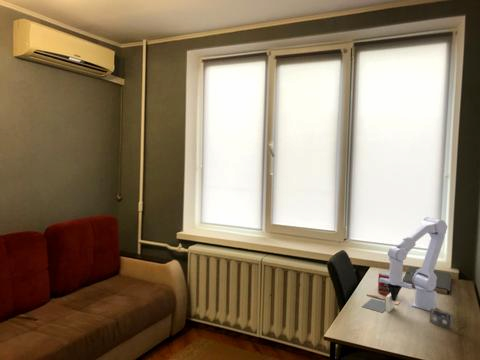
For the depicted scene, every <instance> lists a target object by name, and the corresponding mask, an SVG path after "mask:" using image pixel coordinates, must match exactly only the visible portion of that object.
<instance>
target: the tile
mask: <svg viewBox="0 0 480 360" xmlns="http://www.w3.org/2000/svg"><path fill="white" fill-rule="evenodd" d="M385 298H386V310H385V311H386V312H389V313H390V312H392V310H393V309H394V308H395V304H394V301H393V300H392V296H391V293H389V294H388V295H385Z"/></svg>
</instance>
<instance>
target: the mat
mask: <svg viewBox="0 0 480 360" xmlns="http://www.w3.org/2000/svg"><path fill="white" fill-rule="evenodd" d="M361 308H364V309H368V310H371V311H374V312H378V313H381V314H383V313H384V312H385V311H386V302H385V301H384V300H380V299H377V298H371V299H369V300H368V301H367V302H365V303H364V304H362V305H361Z"/></svg>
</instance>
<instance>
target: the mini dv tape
mask: <svg viewBox="0 0 480 360" xmlns="http://www.w3.org/2000/svg"><path fill="white" fill-rule="evenodd" d="M452 317H453V316H452V314H451V313H447V312H443V311H440V310H437V309H430V311H429V323H432V324H435V325H437V326H440V327H444V328H446V329H451V328H452V327H451V326H452Z"/></svg>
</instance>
